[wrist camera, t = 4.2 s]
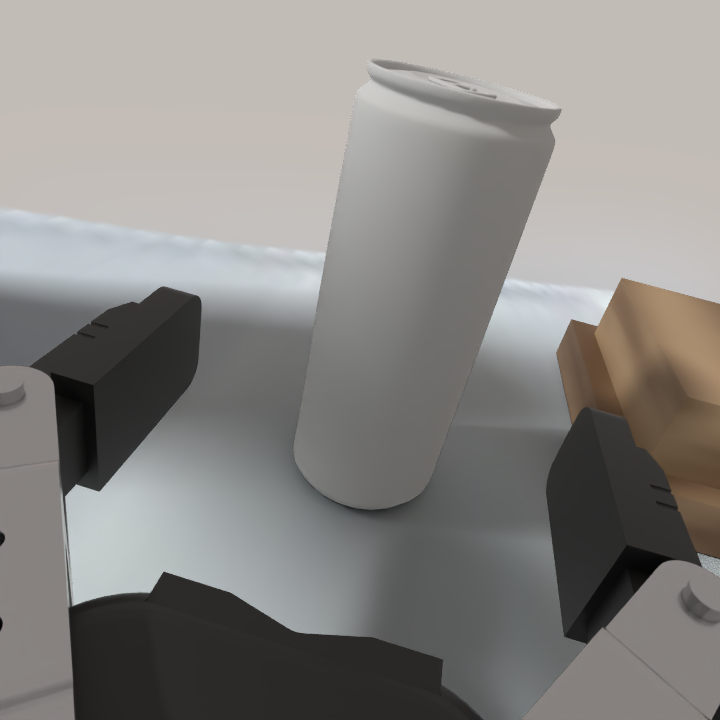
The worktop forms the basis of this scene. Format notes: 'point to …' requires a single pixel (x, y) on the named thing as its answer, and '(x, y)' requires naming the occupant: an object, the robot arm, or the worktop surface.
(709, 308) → the stand
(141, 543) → the worktop surface
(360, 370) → the beverage can
